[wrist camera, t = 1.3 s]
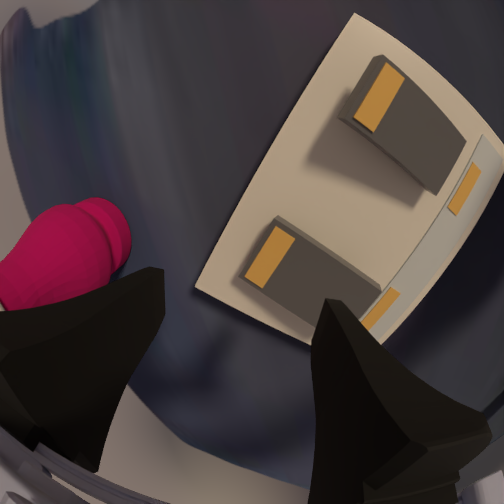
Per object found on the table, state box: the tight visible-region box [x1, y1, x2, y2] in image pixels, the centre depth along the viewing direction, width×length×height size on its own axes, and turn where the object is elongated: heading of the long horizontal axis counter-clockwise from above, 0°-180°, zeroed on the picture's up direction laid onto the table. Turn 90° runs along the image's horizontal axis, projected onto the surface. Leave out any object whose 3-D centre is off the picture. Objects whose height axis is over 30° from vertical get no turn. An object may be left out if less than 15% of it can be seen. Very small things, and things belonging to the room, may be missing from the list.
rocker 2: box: [336, 54, 467, 196], centre depth 11 cm, size 7×4×1 cm, turn 62°
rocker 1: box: [238, 215, 382, 328], centre depth 15 cm, size 7×4×1 cm, turn 61°
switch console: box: [195, 13, 504, 345], centre depth 16 cm, size 14×20×3 cm
